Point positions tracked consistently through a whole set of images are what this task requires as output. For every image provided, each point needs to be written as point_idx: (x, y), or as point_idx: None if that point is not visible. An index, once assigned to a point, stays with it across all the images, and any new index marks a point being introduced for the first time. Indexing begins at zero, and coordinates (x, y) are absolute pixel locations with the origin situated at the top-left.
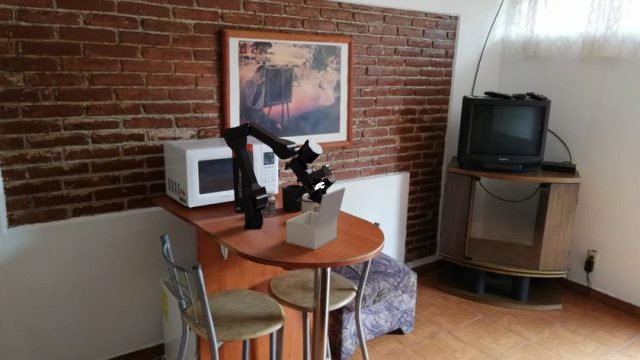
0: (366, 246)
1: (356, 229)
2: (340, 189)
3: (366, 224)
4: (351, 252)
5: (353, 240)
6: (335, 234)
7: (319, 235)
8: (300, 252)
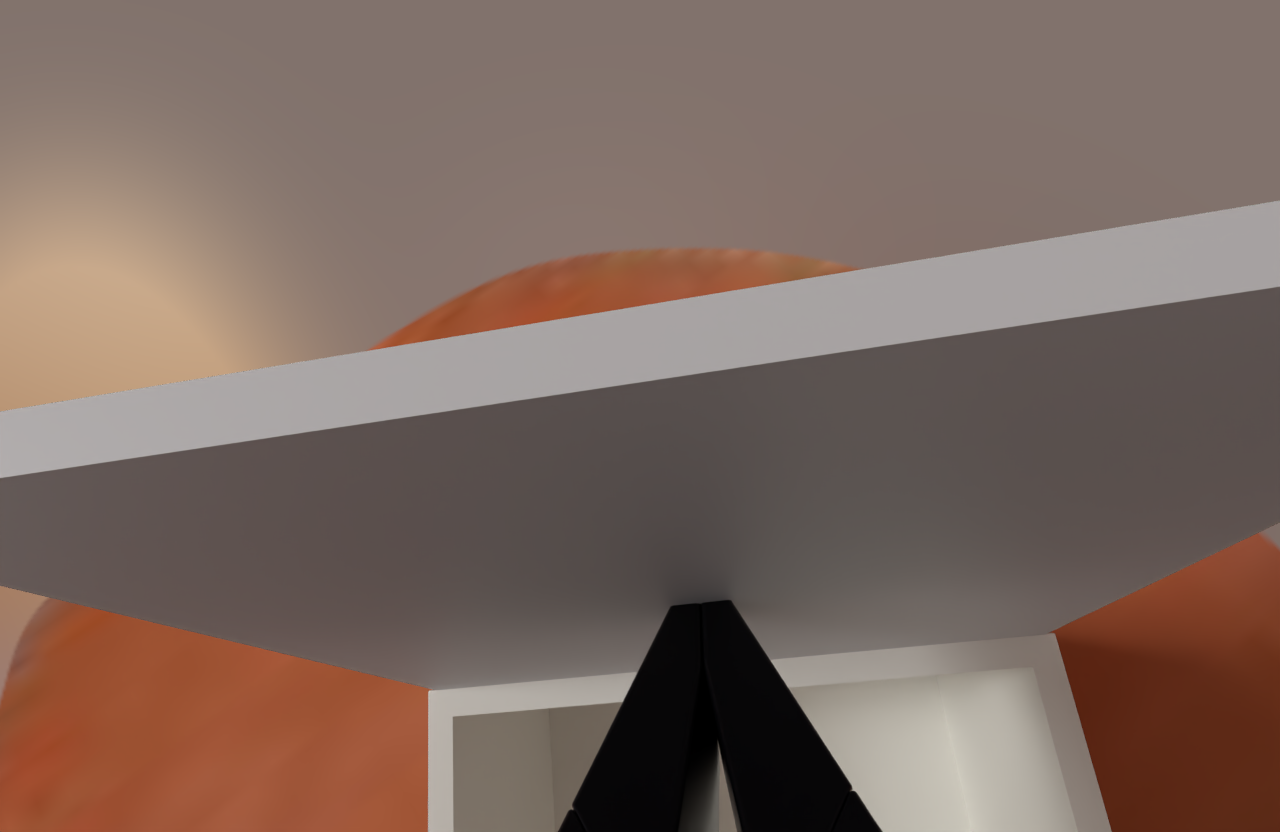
0: None
1: (224, 657)
2: (121, 403)
3: (57, 667)
4: None
5: None
6: None
7: None
8: (1114, 691)
